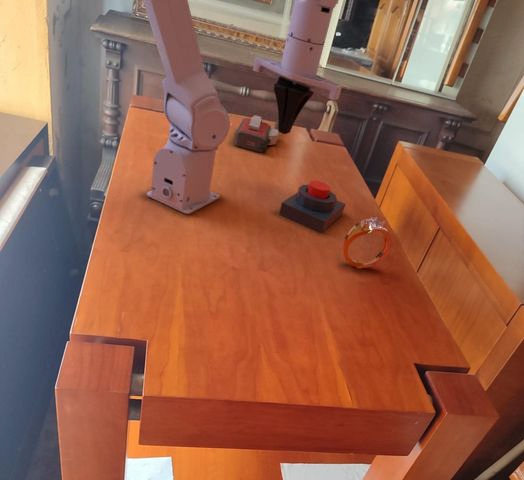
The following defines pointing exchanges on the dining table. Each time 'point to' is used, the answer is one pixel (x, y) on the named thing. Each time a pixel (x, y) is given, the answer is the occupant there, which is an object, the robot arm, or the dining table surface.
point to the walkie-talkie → (256, 134)
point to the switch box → (312, 209)
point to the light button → (318, 189)
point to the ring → (353, 234)
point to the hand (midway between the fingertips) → (284, 131)
